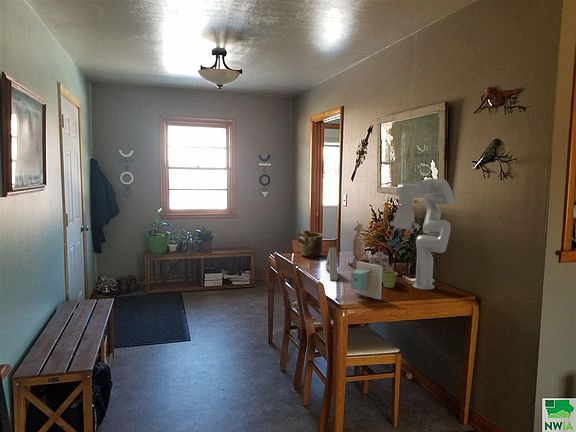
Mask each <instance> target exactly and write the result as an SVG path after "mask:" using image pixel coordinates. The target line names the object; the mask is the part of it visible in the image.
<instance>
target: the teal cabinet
mask: <svg viewBox="0 0 576 432" xmlns="http://www.w3.org/2000/svg"><path fill="white" fill-rule="evenodd" d="M355 270H356V269H355ZM368 273H372V270H368V269H359V270H356V271H354V270H353V271H351V272H350V289H352V290H354V291H355V290H359V291H361V290H364V289H366V288H368Z"/></svg>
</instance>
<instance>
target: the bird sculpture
mask: <svg viewBox="0 0 576 432" xmlns="http://www.w3.org/2000/svg"><path fill="white" fill-rule="evenodd" d="M353 229H354V230H353V231H357V232H356V234H355V236H354V239H353V245H352V247H353V248H352V252H353V256H354V258H353V259H352V260H353V261H352V262H348V263H347V265H348V266H352V269H356V263H357V262H358V261H359V262H363V244H362V241H361V240H360V235H361V232H362V229H363V224H362V223H358V225H356V226H355V227H354V228H353Z"/></svg>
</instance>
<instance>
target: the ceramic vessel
mask: <svg viewBox="0 0 576 432" xmlns="http://www.w3.org/2000/svg"><path fill="white" fill-rule="evenodd" d="M296 234H297V235H296V236H297V244H299V245H300V249H299V250H300V254H301V256H303V257H309V258H317V257H320V256H321V255H322V252H323V238H324V235H323V233H322V232H311V231H309V230H304V229H301V230H298V231H297V233H296Z"/></svg>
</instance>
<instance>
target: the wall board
mask: <svg viewBox="0 0 576 432" xmlns="http://www.w3.org/2000/svg"><path fill="white" fill-rule="evenodd" d="M359 269H368V270H372V273H368V288H366V289H364V290H361V291H359V290H355V289H354V291H355V292H354V293H355V294H358V295H360V296H364V297H367V298H368V297H369V298H371V299H375V300H381V299H382V284H383V283H382V266H379V265H374V264H369V262H368V263H367V262H363V261H362V262H359V261H358V262H357V263H356V268H355V269H353V271H356V270H359Z"/></svg>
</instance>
